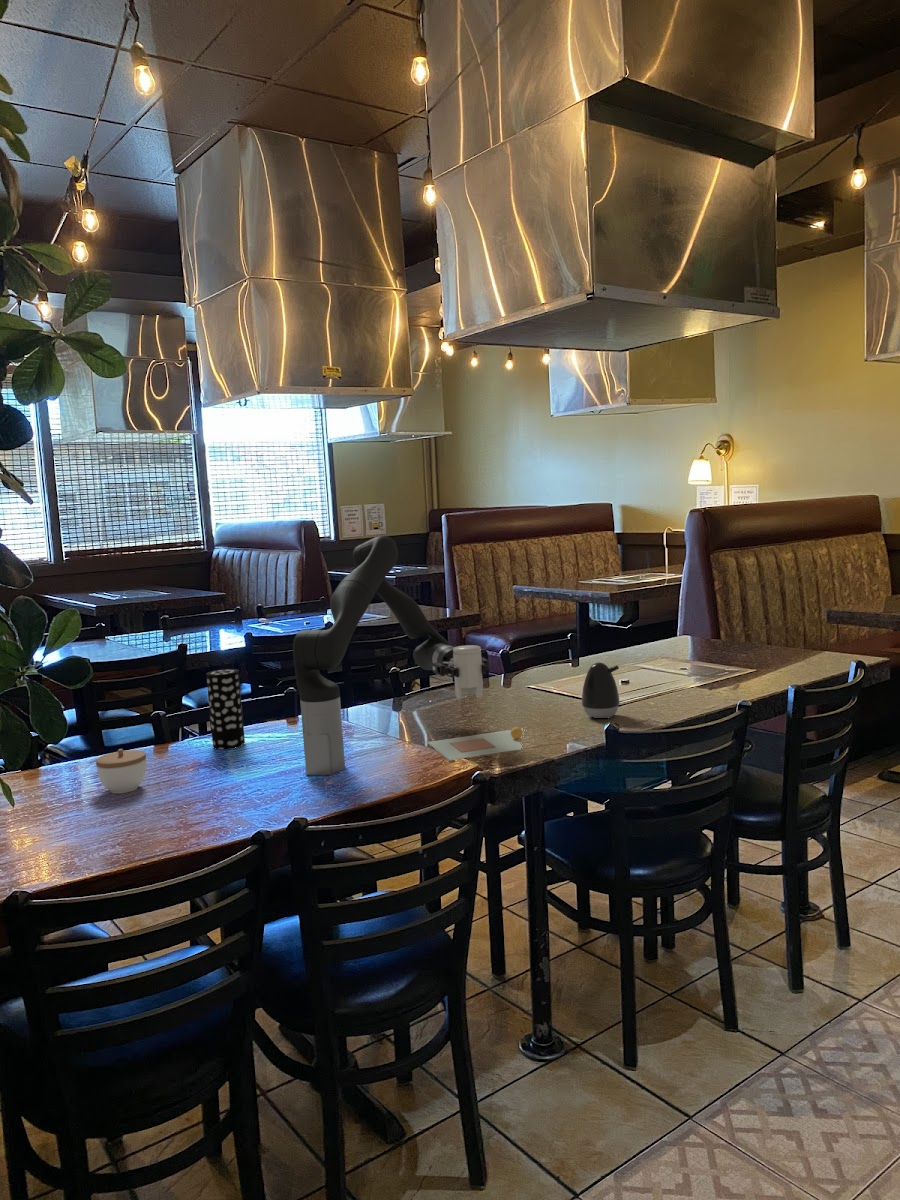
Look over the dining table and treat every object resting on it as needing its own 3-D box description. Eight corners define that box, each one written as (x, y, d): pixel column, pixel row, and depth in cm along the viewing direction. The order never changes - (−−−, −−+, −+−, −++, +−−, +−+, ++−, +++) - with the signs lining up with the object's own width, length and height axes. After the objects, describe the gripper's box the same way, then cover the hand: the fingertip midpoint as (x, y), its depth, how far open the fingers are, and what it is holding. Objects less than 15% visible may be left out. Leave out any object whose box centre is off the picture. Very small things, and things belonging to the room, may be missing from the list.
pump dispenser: (618, 722, 233) (615, 666, 231) (579, 721, 236) (576, 666, 235) (623, 712, 242) (621, 659, 241) (586, 712, 246) (583, 659, 244)
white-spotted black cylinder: (250, 741, 236) (244, 668, 234) (235, 750, 228) (228, 675, 226) (223, 741, 238) (216, 669, 236) (207, 749, 230) (200, 675, 228)
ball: (521, 740, 219) (521, 728, 218) (510, 740, 219) (509, 728, 219) (523, 737, 222) (522, 725, 221) (511, 737, 222) (511, 725, 222)
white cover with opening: (487, 697, 213) (484, 648, 212) (460, 700, 211) (458, 651, 210) (477, 692, 219) (475, 644, 218) (452, 695, 217) (449, 647, 216)
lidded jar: (91, 791, 200) (87, 751, 199) (136, 779, 207) (132, 740, 206) (111, 800, 192) (107, 759, 191) (157, 787, 200) (153, 747, 199)
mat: (535, 728, 232) (535, 725, 232) (564, 744, 215) (564, 741, 215) (427, 743, 222) (427, 741, 222) (449, 762, 205) (449, 759, 205)
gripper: (422, 649, 225) (442, 659, 210) (475, 643, 230) (498, 652, 214) (424, 678, 226) (444, 689, 210) (476, 671, 231) (499, 682, 215)
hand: (471, 671), depth 212 cm, fingers closed on white cover with opening, 6 cm apart
